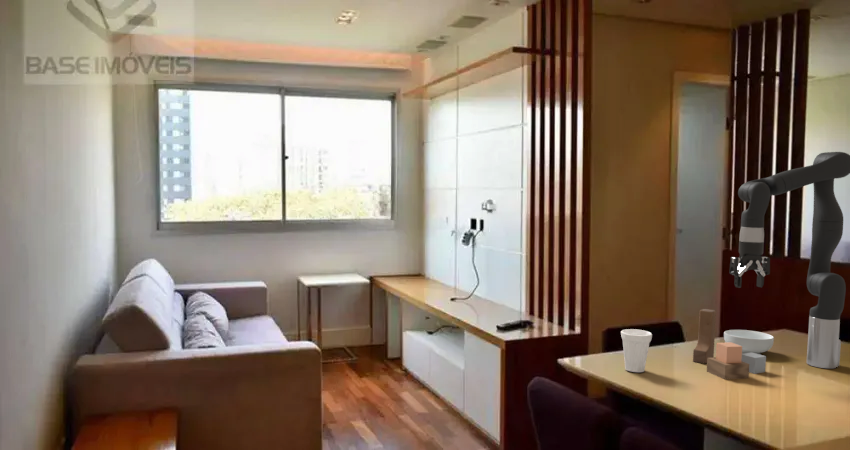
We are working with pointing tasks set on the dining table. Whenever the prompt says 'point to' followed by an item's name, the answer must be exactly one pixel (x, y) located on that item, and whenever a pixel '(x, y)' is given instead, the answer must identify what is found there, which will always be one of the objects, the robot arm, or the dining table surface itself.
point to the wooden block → (705, 336)
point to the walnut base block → (727, 369)
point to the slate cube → (754, 362)
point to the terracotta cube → (729, 352)
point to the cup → (635, 348)
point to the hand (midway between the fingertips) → (748, 287)
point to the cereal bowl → (750, 340)
